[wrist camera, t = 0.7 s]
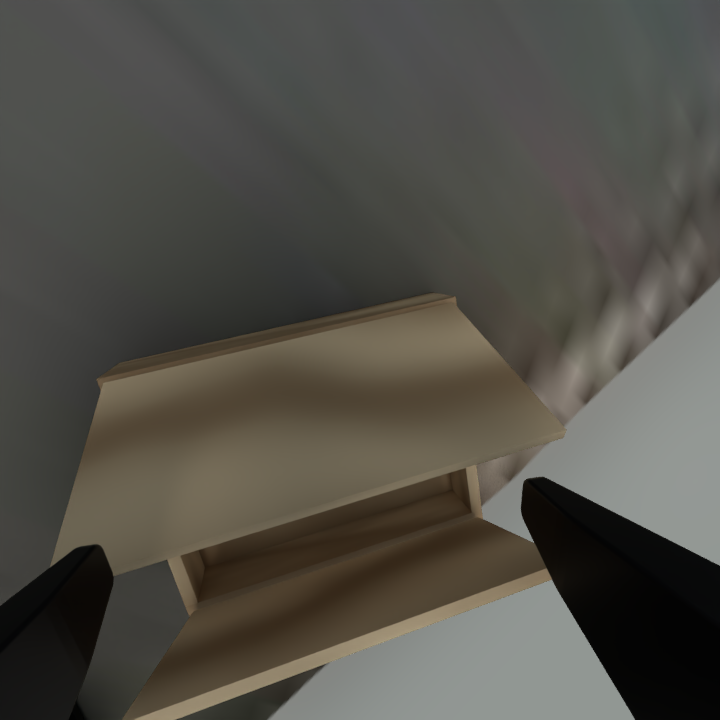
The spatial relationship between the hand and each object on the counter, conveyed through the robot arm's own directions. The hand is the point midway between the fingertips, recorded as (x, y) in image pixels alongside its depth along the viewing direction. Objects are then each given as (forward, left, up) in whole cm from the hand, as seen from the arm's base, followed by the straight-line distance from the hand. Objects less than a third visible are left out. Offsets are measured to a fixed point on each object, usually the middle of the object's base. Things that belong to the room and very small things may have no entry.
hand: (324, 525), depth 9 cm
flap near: (0, 0, -6) cm, 6 cm away
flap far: (-8, 0, -6) cm, 10 cm away
